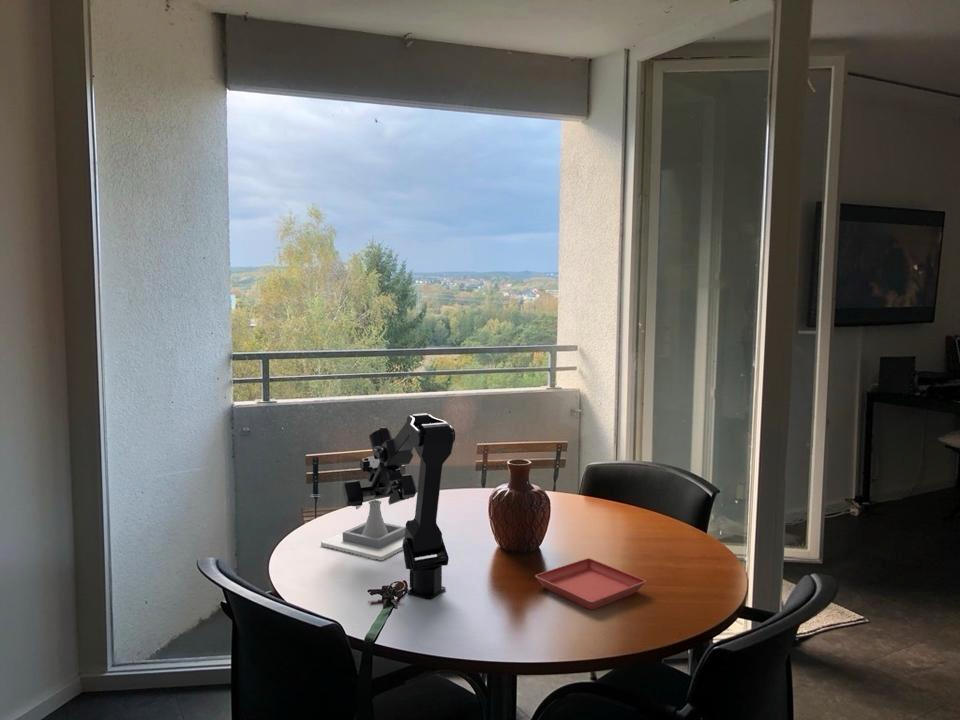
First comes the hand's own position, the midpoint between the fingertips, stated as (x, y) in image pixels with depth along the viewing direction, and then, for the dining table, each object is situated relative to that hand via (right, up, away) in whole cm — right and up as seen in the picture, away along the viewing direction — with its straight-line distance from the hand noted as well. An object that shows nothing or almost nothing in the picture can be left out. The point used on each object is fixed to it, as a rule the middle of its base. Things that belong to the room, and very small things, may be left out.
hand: (373, 505), depth 194 cm
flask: (+1, -9, 0) cm, 9 cm away
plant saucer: (+54, -14, -30) cm, 63 cm away
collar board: (+1, -10, 0) cm, 10 cm away
